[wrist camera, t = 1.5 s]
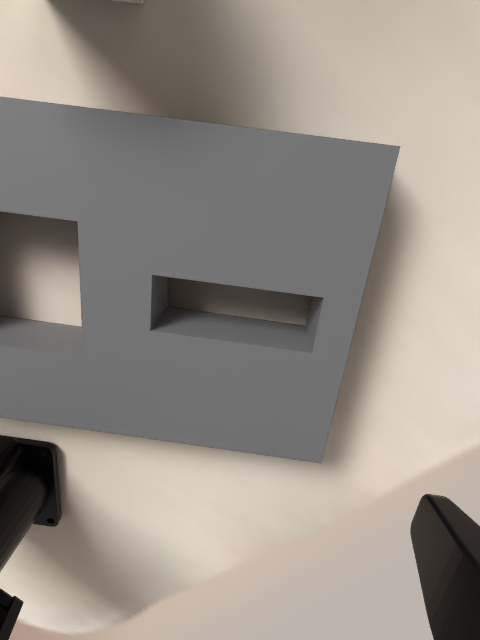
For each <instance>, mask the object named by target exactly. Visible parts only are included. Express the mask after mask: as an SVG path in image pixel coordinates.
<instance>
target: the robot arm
mask: <svg viewBox="0 0 480 640" xmlns="http://www.w3.org/2000/svg"><path fill="white" fill-rule="evenodd" d="M45 450H46V451H47V452H46V451H45ZM60 520H61V506H60V493H59V481H58V469H57V456H56V448H55V446H54V445H53V444H51V443H49V442H43V441H36V440H30V439H23V438H16V437H9V436H2V435H0V572H1V570H2V569H3V567H4V566H5V564H6V563H7V561H8V560H9V558H10V557H11V555H12V554H13V552H14V551H15V549H16V548H17V546H18V545H19V543H20V542H21V540H22V539H23V537H24V536H25V534H26V533H27V531H28V530H29V528H30V527H31V525H32V524H39V525H45V526H56V525H57V524H58V523H59V521H60ZM411 539H412V544H413V549H414V553H415V558H416V563H417V568H418V573H419V577H420V582H421V587H422V591H423V597H424V602H425V606H426V611H427V615H428V620H429V623H430V628H431V631H432V635H433V638H434V640H480V526H479V525H478V524H477V523H475V522H474V521H473V520H472V519H471V518H470V517H469V516H468V515H467V514H465V513H464V512H463V511H462V510H461V509H460V508H459V507H458V506H457V505H455V504H454V503H453V502H452V501H451V500H450V499H448V498H447V497H444V496H439V495H432V494H425V495H424V496H423V497H422V498H421V500H420V502H419V505H418V508H417V510H416V513H415V515H414V518H413V520H412V523H411ZM22 605H23V601H22V600H20V599H19V598H17V597H16V596H14V597H12V596H10V595H9V594H8V593H6V592H5V591H3V590H2V589H0V640H8V639H9V637H10V634H11V632H12V630H13V627H14V625H15V622H16V620H17V617H18V615H19V612H20V610H21V607H22Z"/></svg>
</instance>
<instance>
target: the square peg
mask: <svg viewBox="0 0 480 640" xmlns="http://www.w3.org/2000/svg"><path fill="white" fill-rule="evenodd" d="M110 1H119V2H127V3H136V4H144V0H110Z"/></svg>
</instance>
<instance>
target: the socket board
mask: <svg viewBox="0 0 480 640" xmlns="http://www.w3.org/2000/svg"><path fill="white" fill-rule="evenodd" d="M399 149H400V146H393V145H385V144H377V143H369V142H361V141H353V140H345V139H337V138H329V137H320V136H312V135H304V134H296V133H288V132H280V131H272V130H264V129H256V128H248V127H240V126H232V125H224V124H216V123H208V122H200V121H192V120H184V119H176V118H168V117H160V116H152V115H143V114H135V113H127V112H119V111H111V110H103V109H95V108H87V107H79V106H71V105H63V104H55V103H47V102H39V101H31V100H23V99H15V98H7V97H0V211H2V212H10V213H17V214H25V215H32V216H40V217H48V218H55V219H63V220H71V221H77V222H78V245H79V269H80V293H81V317H82V327H78V326H71V325H64V324H57V323H49V322H42V321H35V320H27V319H20V318H13V317H6V316H0V417H2V418H9V419H16V420H23V421H30V422H37V423H44V424H51V425H58V426H65V427H72V428H79V429H86V430H93V431H100V432H107V433H114V434H121V435H128V436H135V437H142V438H149V439H155V440H162V441H169V442H176V443H183V444H190V445H197V446H204V447H211V448H218V449H225V450H232V451H239V452H246V453H253V454H260V455H267V456H274V457H281V458H288V459H295V460H302V461H309V462H316V463H321V461H322V457H323V453H324V449H325V445H326V441H327V437H328V433H329V429H330V425H331V421H332V417H333V413H334V409H335V405H336V401H337V397H338V393H339V389H340V385H341V381H342V377H343V373H344V369H345V365H346V361H347V357H348V353H349V349H350V345H351V341H352V337H353V333H354V329H355V325H356V321H357V317H358V313H359V309H360V305H361V301H362V297H363V293H364V289H365V285H366V281H367V277H368V273H369V269H370V265H371V261H372V257H373V253H374V249H375V245H376V241H377V237H378V233H379V229H380V225H381V221H382V217H383V213H384V209H385V205H386V201H387V197H388V193H389V189H390V185H391V181H392V177H393V173H394V169H395V165H396V161H397V157H398V153H399ZM169 277H172V278H180V279H187V280H195V281H202V282H210V283H217V284H225V285H232V286H240V287H247V288H255V289H262V290H270V291H277V292H285V293H292V294H299V295H307V296H312V298H311V303H310V308H309V313H308V318H307V323H306V326H303V325H296V324H288V323H281V322H274V321H266V320H259V319H251V318H244V317H237V316H229V315H222V314H215V313H207V312H200V311H192V310H185V309H178V308H170V307H167V304H168V283H169Z"/></svg>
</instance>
